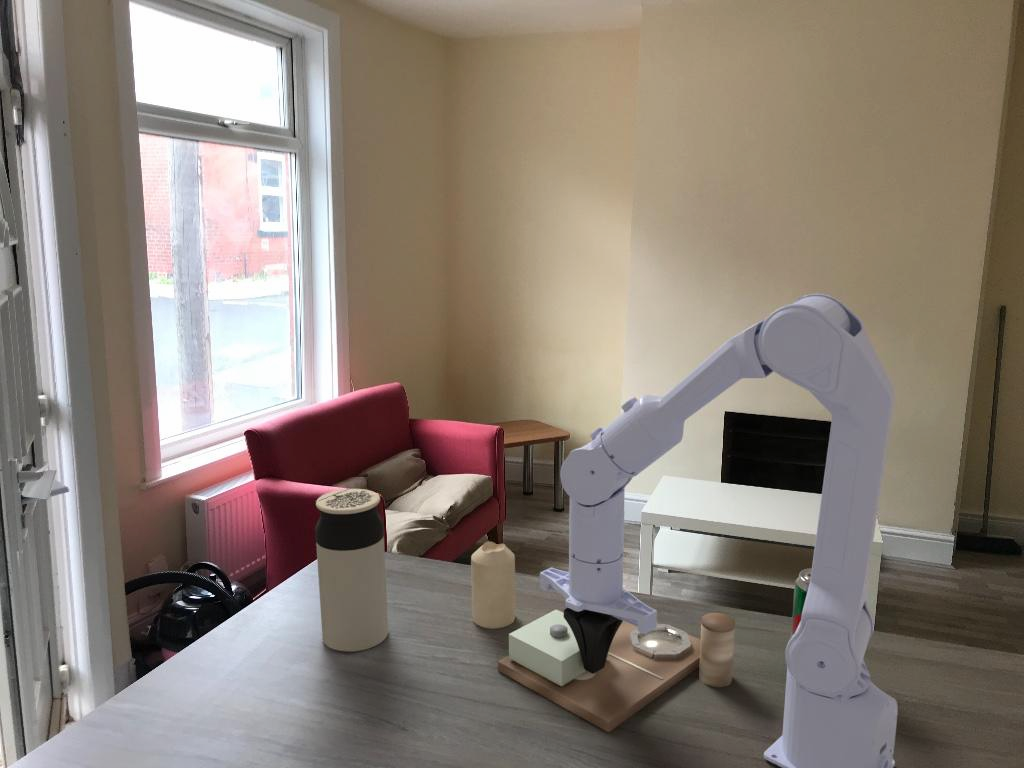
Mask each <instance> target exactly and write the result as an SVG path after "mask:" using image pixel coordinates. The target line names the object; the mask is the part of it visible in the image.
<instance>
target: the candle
mask: <svg viewBox="0 0 1024 768" xmlns="http://www.w3.org/2000/svg"><path fill="white" fill-rule="evenodd" d="M515 555H516V554H514V552H513V551H511V549H509V548H508V546H506V544H505V543H499V544H496V543H495V542H494V541H486V542H484V543H483V544H482V545H481V546H480V547H479V548H477V550H476V551H474V552H473V553H472V554H471V559H470V567H471V569H470V570H471V572H470V573H471V607H472V608H471V611H472V613H471V614H472V620H473V623H476V624H475V625H477V626H478V625H479V627H481V628H485V629H491V630H493V629H496V630H497V629H502V628H506V627H508V626H510V625H511V624H513V623H514V622H515V619H516V562H515V561H516V558H515V557H516V556H515Z"/></svg>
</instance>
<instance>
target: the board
mask: <svg viewBox="0 0 1024 768" xmlns="http://www.w3.org/2000/svg"><path fill="white" fill-rule="evenodd" d="M657 624H663V623H661V622H660V621H657ZM637 628H638V627H636V626H634V625H632V624H629V623H627V622H625V621H623V622H622V623H621V625H620V627H619V628H618V630H617V632H616V634H615V636H614V638H613V640H612V643H611V646H610V648H609V652H608V658H606V662H605V666H604V668H602V669H601V670H599V671H597V672H596V673H594V674H592V673H590V672H588V671H585V672H584V673H582V674H581V675H579V676H577V677H576V678H574V679H573V680H571V681H569V682H568V683H566V684H565V685H563V686H560V685H558V684H556V683H554V682H553V681H551V680H549V679H547V678H545V677H543V676H541V675H540V674H538V673H536V672H534V671H532V670H530V669H528V668H527V667H525V666H523V665H521V664H519V663H517V662H515V661H514V660H512V659H510V658H509V654H508V655H506V656H505V657H503V658H501V659H499V660H498V661H497V671H498V672H500V673H501V674H503V675H505V676H507V677H509V678H510V679H512V680H514V681H516V682H517V683H520V684H521V685H523V686H524V687H526V688H528V689H530V690H532V691H534V692H535V693H537V694H538V695H541V696H542V697H544V698H546V699H548V700H549V701H551V702H554V703H555V704H557V705H559V706H560V707H562V708H564V709H565V710H567V711H569V712H571V713H572V714H575V715H577V716H578V717H580V718H582V719H583V720H586V721H587V722H589V723H590V724H592V725H594V726H596V727H598V728H599V729H601V730H603V731H605V732H606V733H610V732H612V731H613V730H615V728H617V727H618V726H620V725H621V724H623V723H624V722H626V721H627V720H628V719H629V718H631V717H632V716H634V715H635V714H637V712H639V711H641V710H642V709H643V708H645V707H646V706H647V705H649V704H650V703H651V702H653V701H654V700H655V699H657V698H659V697H660V696H661V695H662V694H664V693H665V692H666V691H668V690H670V689H671V688H672V687H673V686H675V685H677V684H678V683H679V682H680V681H682V680H683V679H684V678H686V677H687V676H688V675H690V674H692V673H693V672H694V671H696V670H697V669H698V668H699V665H700V643H701V638H700V639H699V638H697V637H695V636H693V635H690V634H688V633H687V635H688V637H689V640H690V642H691V650H690V651H689V652H687V653H686V654H684V655H683V656H681V657H680V658H677V659H654V658H653V659H651V658H649V657H647V656H645V655H643V654H641V653H638V652H636V651H634V649H633V648H632V644H631V641H630V632H632V631H634V630H635V629H637Z"/></svg>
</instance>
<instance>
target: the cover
mask: <svg viewBox="0 0 1024 768" xmlns="http://www.w3.org/2000/svg"><path fill="white" fill-rule="evenodd" d="M508 655H509V658H510V659H512V660H514V661H515V662H517V663H519V664H521V665H523V666H525V667H527V668H528V669H530V670H532V671H534V672H536V673H538V674H540V675H541V676H543V677H545V678H547V679H549V680H551V681H553V682H554V683H556V684H558V685H560V686H563V685H565V684H566V683H568V682H569V681H571V680H573V679H574V678H576V677H577V676H579V675H581V674H582V673H584V672H585V671H586V670H585V669H584V666H583V662H582V658H581V654H580V651H579V647H578V644H577V641H576V639H575V636H574V634H573V632H572V630H571V628H570V626H569V624H568V623H567V621H566V620H565V618H564V611H560V610H558V609H555V610H552V611H550V612H549V613H546V614H545V615H543V616H541V617H539V618H537V619H535V620H533V621H531V622H529V623H527V624H526V625H523V626H521V627H519V628H518V629H516V630H514V631H512V632H509V633H508ZM607 658H608V655H607Z"/></svg>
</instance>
